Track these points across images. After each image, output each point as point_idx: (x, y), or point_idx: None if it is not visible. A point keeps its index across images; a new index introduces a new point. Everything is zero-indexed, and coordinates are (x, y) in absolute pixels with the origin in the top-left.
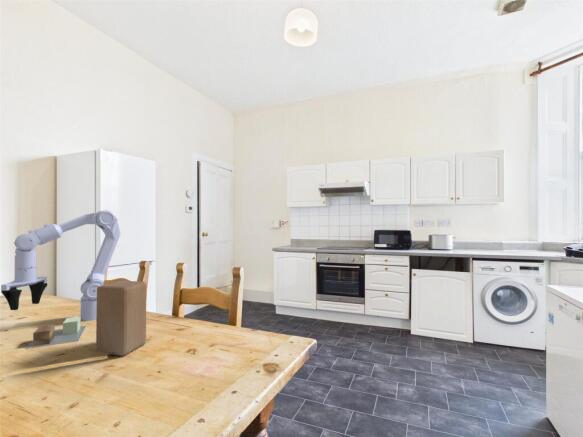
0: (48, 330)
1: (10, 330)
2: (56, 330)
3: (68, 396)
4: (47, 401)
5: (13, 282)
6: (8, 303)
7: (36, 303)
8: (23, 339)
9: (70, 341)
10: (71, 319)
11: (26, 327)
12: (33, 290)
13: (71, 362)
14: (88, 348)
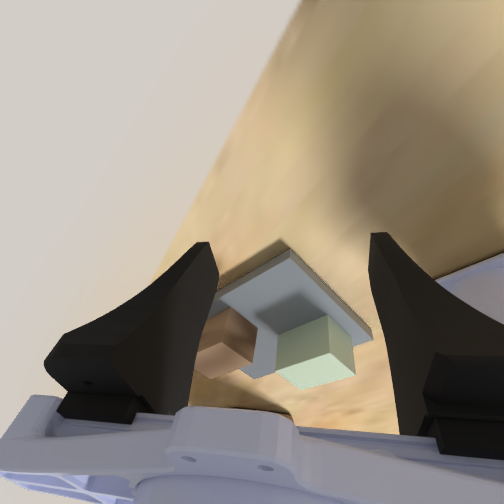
0: (209, 376)
1: (324, 12)
2: (312, 295)
3: None
4: None
5: (132, 466)
6: (168, 269)
7: (368, 266)
8: (239, 230)
9: (245, 370)
10: (315, 371)
11: (390, 60)
12: (401, 336)
13: (191, 394)
14: (246, 389)
